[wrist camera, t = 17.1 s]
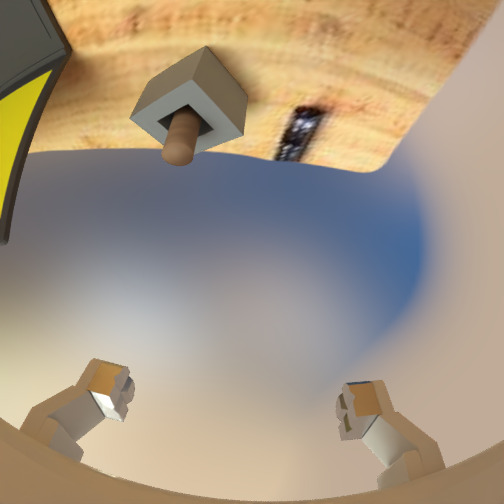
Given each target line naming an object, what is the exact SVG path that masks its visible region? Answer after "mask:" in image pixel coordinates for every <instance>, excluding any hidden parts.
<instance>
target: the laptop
mask: <svg viewBox="0 0 504 504" xmlns="http://www.w3.org/2000/svg"><path fill="white" fill-rule="evenodd" d="M71 50H72V49H71V47H70V45H69V43H68V42H67V40H66V38H65V36H64V34H63V32H62V30H61V28H60V27H59V25H58V23H57V21H56V19H55V17H54V15H53V13H52V11H51V9H50V7H49V5H48V3H47V1H46V0H0V245H6V244H7V243H8V240H9V234H10V227H11V221H12V215H13V209H14V205H15V200H16V195H17V191H18V187H19V182H20V178H21V175H22V171H23V167H24V164H25V160H26V157H27V154H28V151H29V148H30V145H31V142H32V139H33V136H34V133H35V131H36V128H37V125H38V123H39V120H40V118H41V115H42V113H43V110H44V108H45V106H46V103H47V101H48V99H49V97H50V94H51V92H52V90H53V88H54V86H55V84H56V82H57V80H58V78H59V76H60V74H61V72H62V70H63V69H64V67H65V65H66V63H67V61H68V60H69V58H70V57H71V53H70V51H71Z"/></svg>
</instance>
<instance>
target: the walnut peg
mask: <svg viewBox="0 0 504 504" xmlns="http://www.w3.org/2000/svg"><path fill="white" fill-rule="evenodd" d="M201 121H202V117H201V116H200V115H199V114H198V113H197V112H196V111H195V110H194V109H193V108H192V107H191V106H190V105H189V104H187V105H185V106H183V107H181V108H179V109H177V110H176V111H175V113H174V116H173V119H172V122H171V125H170V128H169V131H168V134H167V137H166V140H165V143H164V147H163V150H162V158H163V159H164V160H165V161H166V162H167V163H169V164H171V165H176V166H184V165H187V164H189V163H191V161H192V160H193V156H194V151H195V147H196V142H197V138H198V134H199V129H200V125H201Z"/></svg>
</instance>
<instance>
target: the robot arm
mask: <svg viewBox="0 0 504 504" xmlns="http://www.w3.org/2000/svg"><path fill="white" fill-rule="evenodd" d="M129 373H130V371H129V369H128V367H126V366H122V365H118V364H114V363H110V362H106V361H103V360H99V359H95V358H94V359H92V360H91V361H90V362H89V364H88V365H87V367H86V369H85V371H84V372H83V374H82V376H81V377H80V379H79V381H78V382H77V384H76V386H70V387H69V388H67V389H65V390H63V391H62V392H60V393H58V394H56V395H54V396H52V397H51V398H49V399H47V400H45V401H43V402H42V403H40V404H38V405H36V406H34V407H32V409H31V410H30V412H29V414H28V416H27V417H26V419H25V421H24V422H23V424H22V426H21V428H20V430H18V429H17V428H15V427H13V426H12V425H10V424H9V423H7V422H6V421H5V420H3V419H2V418H0V504H504V440H503V441H501V442H499V443H497V444H496V445H494V446H492V447H491V448H489V449H486V450H485V451H483V452H481V453H479V454H477V455H475V456H473V457H471V458H468V459H466V460H464V461H462V462H460V463H458V464H455V465H453V466H450V467H448V468H446V467H445V464H444V461H443V459H442V455H441V452H440V450H439V447H438V444H437V442H435V440H433V439H432V438H431V437H429V436H428V435H427V434H425V433H424V432H423V431H422V430H420V429H419V428H418V427H417V426H415V425H414V424H413V423H412V422H410V421H409V420H408V419H407V418H405V417H404V416H403V415H402V414H400V413H399V412H395V411H394V408H393V405H392V402H391V400H390V397H389V394H388V391H387V389H386V386H385V383H384V381H383V380H377V381H363V382H352V383H345V384H344V385H343V387H342V392H343V393H342V394H340V395H339V397H338V399H337V402H336V414H337V418H338V419H339V420H340V421H341V423H340V425H339V431H340V437H341V440H353V439H362V441H363V442H364V443H365V444H366V445H367V447H368V448H369V449H370V450H371V451H372V452H373V453H374V454H375V455H376V456H377V458H378V459H379V460H380V461H381V462H382V463H383V464H384V465H385V466H386V467H387V469H386V470H385V471H384V472H383V473H382V474H381V475H379V477H378V478H377V482H378V487H379V489H378V490H374V491H369V492H365V493H359V494H353V495H347V496H341V497H334V498H325V499H315V500H303V501H279V502H278V501H277V502H276V501H273V502H271V501H270V502H269V501H268V502H266V501H265V502H264V501H240V500H227V499H217V498H209V497H201V496H195V495H189V494H183V493H178V492H173V491H168V490H163V489H160V488H155V487H151V486H147V485H144V484H140V483H136V482H133V481H129V480H127V479H123V478H120V477H117V476H114V475H112V474H109V473H106V472H103V471H100V470H98V469H95V468H93V467H90V466H88V465H85V464H83V463H80V461H81V458H82V456H83V453H84V452H83V449H82V448H81V447H80V446H79V445H78V444H77V443H76V441H77V440H78V439H80V438H81V437H82V436H84V435H85V434H86V433H87V432H89V431H90V430H91V429H92V428H94V427H95V426H96V425H97V424H99V423H100V422H101V421H102V420H104V419H105V417H106V418H110V419H114V420H117V421H121V422H124V419H125V417H126V414H127V412H128V407H127V404H128V403H129V402H131V401H132V399H133V396H134V391H135V386H134V382H133V380H132V379H131V378H130V377H129Z"/></svg>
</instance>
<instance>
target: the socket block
mask: <svg viewBox="0 0 504 504" xmlns="http://www.w3.org/2000/svg"><path fill="white" fill-rule="evenodd" d="M247 101H248V96H247V95H246V93H245V92H244V91H243V89H242V88H241V87H240V86H239V84H238V83H237V82H236V81H235V79H234V78H233V77H232V76H231V75H230V73H229V72H228V71H227V70H226V68H225V67H224V66H223V65H222V64H221V62H220V61H219V60H218V59H217V58H216V57H215V55H214V54H213V53H212V52H211V51H210V50H209V49H208V47H207V46H205V47H203V48H201V49H199V50H197V51H196V52H194V53H192V54H190V55H189V56H187V57H185V58H184V59H182V60H180V61H179V62H177V63H176V64H174V65H172V66H171V67H169V68H168V69H166V70H165V71H163V72H162V73H160V74H159V75H157V76H156V77H154V78H153V79H151V80H150V81H149V82H148V84H147V85H146V87H145V89H144V91H143V93H142V95H141V96H140V98H139V100H138V102H137V104H136V106H135V108H134V110H133V112H132V114H131V116H130V118H129V119H131V120H132V121H133V122H135V123H136V124H137V125H138V126H140V127H141V128H142V129H143V130H145V131H146V132H147V133H149V134H150V135H151V136H152V137H154V138H155V139H156V140H157V141H159V142H160V143H161V144H162V145H164V143H165V140H166V137H167V134H168V131H169V128H170V125H171V122H172V119H173V116H174V113H175V111H176V110H177V109H179V108H181V107H183V106H185V105H187V104H189V105H190V106H191V107H192V108H193V109H194V110H195V111H196V112H197V113H198V114H199V115H200V116H201V117H202V121H201V125H200V129H199V134H198V138H197V142H196V147H195V151H194V154H197V153H199V152H202V151H204V150H207V149H209V148H212V147H214V146H217V145H219V144H222V143H225V142H227V141H230V140H233V139H235V138H238V137H241V136H243V135H244V126H245V118H246V109H247Z"/></svg>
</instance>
